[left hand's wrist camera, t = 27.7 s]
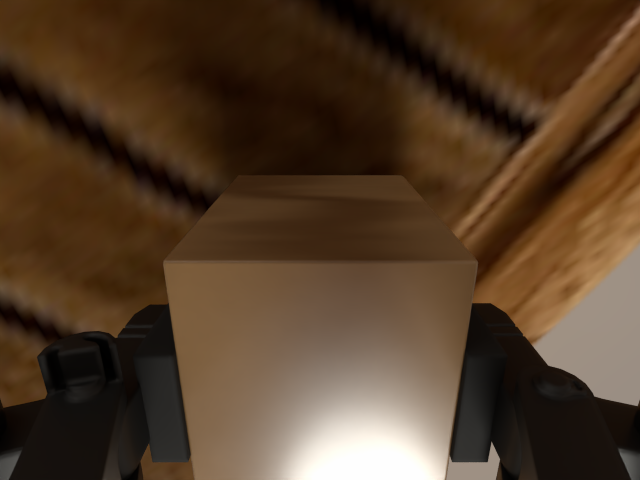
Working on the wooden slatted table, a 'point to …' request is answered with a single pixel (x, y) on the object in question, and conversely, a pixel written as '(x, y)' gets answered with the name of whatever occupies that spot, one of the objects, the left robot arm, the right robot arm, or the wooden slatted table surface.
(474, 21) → the wooden slatted table surface
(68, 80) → the wooden slatted table surface
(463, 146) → the wooden slatted table surface
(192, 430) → the block
